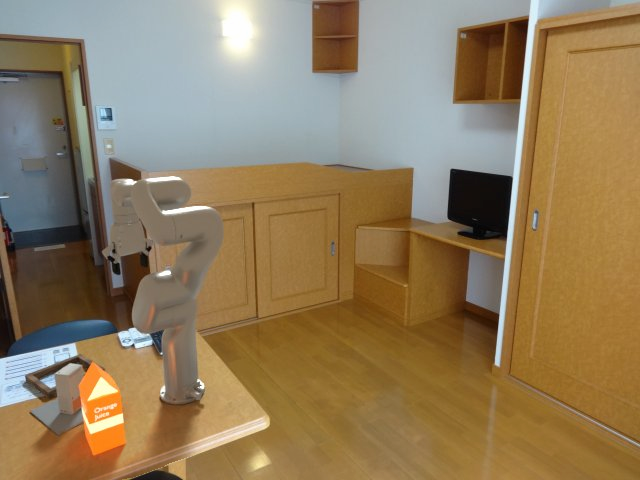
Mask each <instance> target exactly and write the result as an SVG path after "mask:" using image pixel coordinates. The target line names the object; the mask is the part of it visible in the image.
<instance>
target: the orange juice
mask: <svg viewBox="0 0 640 480" xmlns="http://www.w3.org/2000/svg"><path fill="white" fill-rule="evenodd" d="M94 362H95V361H93V362H92V364H91V365H90V367H89V368H87V371H86V373H84V374H85V376H84V378H83V379H82V381H81V383H80V384H79V386H78V387H79V390H80V397H81V405H82V413H83V420H84V423H83V425H84V427H83V428H84V433H85V435H84V436H85V439H86V441H87V443H88V446H89V447H90V451H91V452H92V453H91V454H92V455H93V456H96V455H98V454H101V453H104V452H107V451H109V450H112V449H114V448H118V447H119V446H122V445H125V444H127V443H126V434H125V433H126V432H125V423H124V413H123V405H122V396H121V390H120V389H119V387H118V385H117V384H116V382H115V380H114V379H113V377H112V376H111V375H110V374H108V373H107V372H106V370H105V371H103V370H102V369H101V368H100V367H98V366H97V365H96V364H95V363H96V362H95V363H94Z"/></svg>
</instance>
